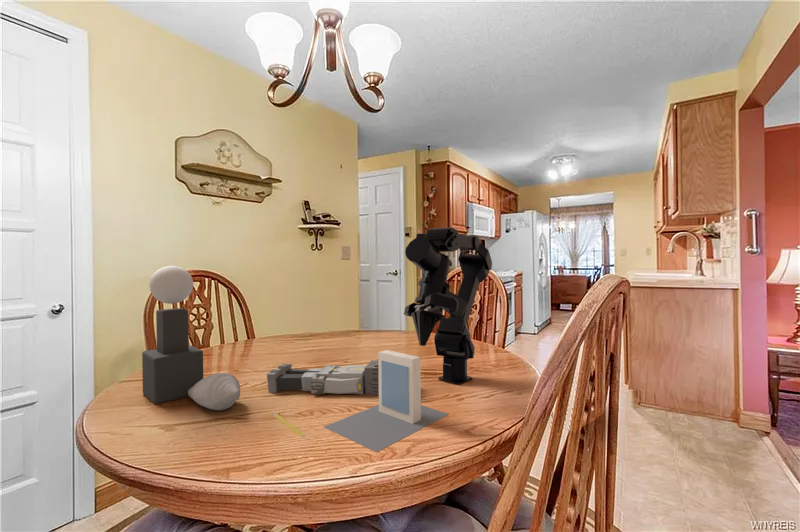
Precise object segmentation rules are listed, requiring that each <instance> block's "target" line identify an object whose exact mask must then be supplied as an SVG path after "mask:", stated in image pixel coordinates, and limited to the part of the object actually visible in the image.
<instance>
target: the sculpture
mask: <svg viewBox="0 0 800 532" xmlns="http://www.w3.org/2000/svg"><path fill="white" fill-rule="evenodd" d="M148 287H149V291H150V293H151V295H152V296H153V297H154V299H156V300H158V301H159V302H161V303H164V304H168V305H169V304H170V305H172V304H173V305H174V304H178V303H181V302H183V301H184V300H186V299H187V298H188V297H189V296H190V295H191V293H192V292H193V289H194V280H193V277H192V275H191V274H190V273H189V272H188V270H186V269H185V268H183V267H180V266H177V265H166V266H164V267H161V268H159V269H158V270H156V271H155V272H153V274H152V275H151V277H150V279H149V286H148ZM155 313H156V315H155V316H156V348H155V349H149V350H144V351H142V355H141V358H142V359H141V360H142V361H141V363H142V365H141V366H142V367H141V368H142V369H141V370H142V393H143V395H144V396H145V397H146V398H147V399H148V400H150V402H152V403H154V404H155V405H158V404H162V402H163V403H166V402H169V401H174V400H178V399H182V398H186V397H190V396H189V395H188V390H189V389H190V388H192V387H193V386H194V385H195V384H196V383H198V382H199V381H200V380H202V379H204V351H203V350H202V349H200V348H198V347H195V346H192V345H191V344H189V342H190V341H189V310H188V309H186V308H182V307H178V308H166V309H157V310H156V311H155Z"/></svg>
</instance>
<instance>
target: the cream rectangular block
mask: <svg viewBox="0 0 800 532" xmlns="http://www.w3.org/2000/svg"><path fill="white" fill-rule="evenodd" d="M377 352H378V357H377V358H378V359H377V360H378V366H379V395H378V405H379V411H380V412H382V413H385V414H388V415H390V416H393V417H396V418H399V419H401V420H404V421H407V422H409V423H412V424H413V423H415V422H417V421H419V420H421V405H422V404H421V403H422V402H421V401H422V400H421V399H422V397H421V396H422V395H421V394H422V393H421V392H422V391H421V389H422V388H421V387H422V386H421V383H422V381H421V379H422V377H421V376H422V375H421V370H422V368H421V367H422V365H421V364H422V363H421V356H417V355H412V354H407V353H402V352H398V351H393V350H388V349H385V350H381V351H377Z"/></svg>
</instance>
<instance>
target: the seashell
mask: <svg viewBox="0 0 800 532" xmlns="http://www.w3.org/2000/svg"><path fill="white" fill-rule="evenodd" d="M188 395H189V396H188V397H189V398H191V399H192V400H193V401H194V402H195V403H196V404H197V405H200V406H201V407H204V408H206V409H208V410H211V411H224V410H227V409H229V408H230V407H232V406H233V405H234V404H235V403H236V402H237V400H238V399H240V397H241V384H240V381H239V379H238V378H237V377H236V376H235V375H234V374H231V373H228V372H217V373H213V374H210V375H208V376H206V377H203V379H202V380H200V381H199V382H198V383H196V384H195V385H194V386H193V387H192V388H190V389H189V390H188Z"/></svg>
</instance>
